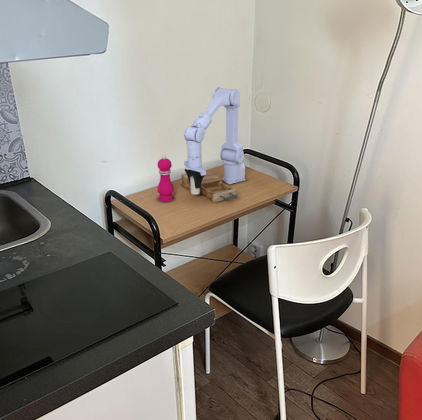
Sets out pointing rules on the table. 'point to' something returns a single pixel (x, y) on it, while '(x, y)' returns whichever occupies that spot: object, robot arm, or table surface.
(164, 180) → the pepper mill
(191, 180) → the spice jar
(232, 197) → the drawer
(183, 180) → the cabinet
